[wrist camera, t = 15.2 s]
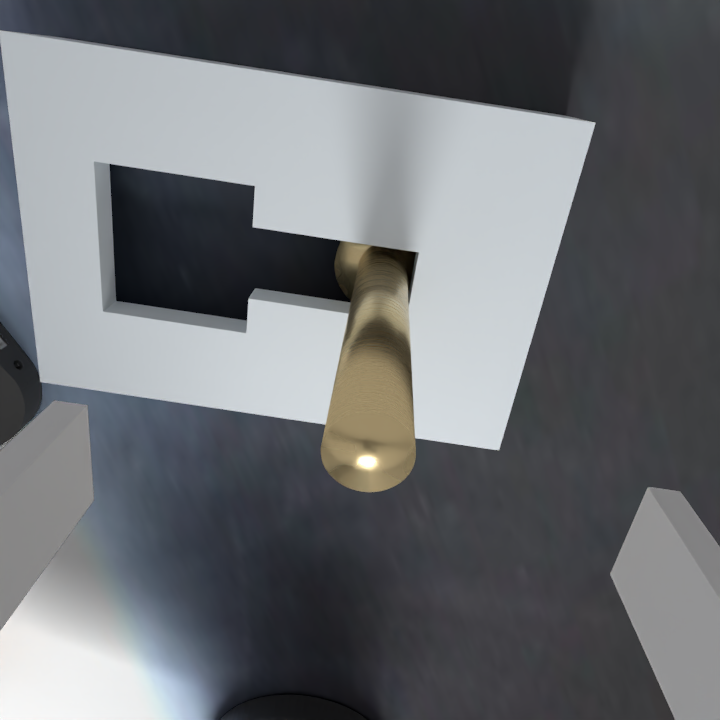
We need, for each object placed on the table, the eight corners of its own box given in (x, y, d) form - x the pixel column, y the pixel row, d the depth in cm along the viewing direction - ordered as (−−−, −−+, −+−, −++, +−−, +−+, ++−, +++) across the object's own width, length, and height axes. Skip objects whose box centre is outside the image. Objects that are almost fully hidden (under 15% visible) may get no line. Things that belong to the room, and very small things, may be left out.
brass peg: (373, 315, 32) (350, 553, 16) (320, 246, 31) (234, 434, 15) (446, 265, 31) (500, 473, 15) (393, 191, 29) (389, 331, 13)
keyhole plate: (82, 345, 34) (40, 382, 30) (57, 36, 27) (-2, 30, 23) (486, 406, 35) (498, 450, 31) (566, 115, 28) (595, 122, 23)
